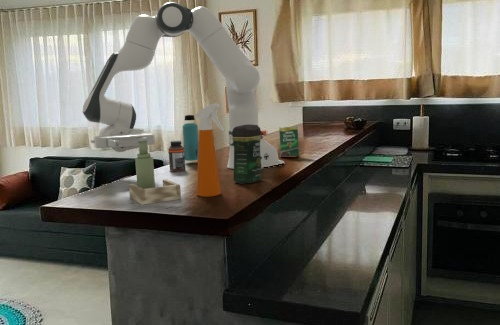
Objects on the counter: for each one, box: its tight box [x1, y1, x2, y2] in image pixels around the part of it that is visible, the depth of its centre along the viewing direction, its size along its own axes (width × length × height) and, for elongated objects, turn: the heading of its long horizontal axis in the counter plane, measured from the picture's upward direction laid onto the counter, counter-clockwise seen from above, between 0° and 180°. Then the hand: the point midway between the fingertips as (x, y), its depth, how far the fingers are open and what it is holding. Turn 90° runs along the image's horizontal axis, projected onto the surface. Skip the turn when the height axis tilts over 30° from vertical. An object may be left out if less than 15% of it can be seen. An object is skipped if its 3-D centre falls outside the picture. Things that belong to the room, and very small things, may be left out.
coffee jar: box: [232, 124, 263, 185], centre depth 159 cm, size 10×8×19 cm
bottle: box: [134, 138, 156, 189], centre depth 153 cm, size 5×5×16 cm
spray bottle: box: [195, 103, 225, 198], centre depth 141 cm, size 7×11×26 cm, turn 49°
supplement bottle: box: [168, 140, 186, 173], centre depth 187 cm, size 6×6×11 cm
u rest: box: [128, 178, 182, 206], centre depth 141 cm, size 11×11×4 cm
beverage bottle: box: [182, 114, 199, 162], centre depth 204 cm, size 6×7×20 cm
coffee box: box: [278, 126, 300, 157], centre depth 209 cm, size 8×3×13 cm, turn 86°
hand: (130, 142), depth 163 cm, fingers open, 8 cm apart
